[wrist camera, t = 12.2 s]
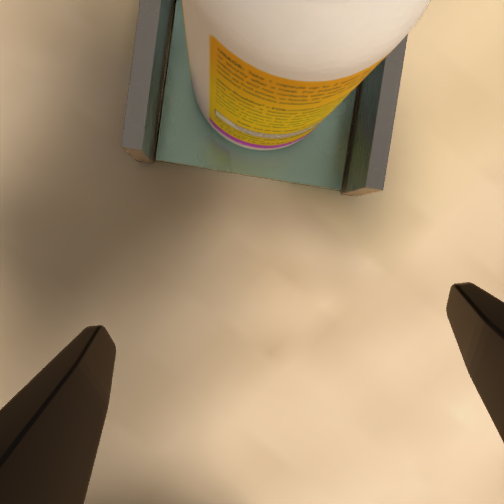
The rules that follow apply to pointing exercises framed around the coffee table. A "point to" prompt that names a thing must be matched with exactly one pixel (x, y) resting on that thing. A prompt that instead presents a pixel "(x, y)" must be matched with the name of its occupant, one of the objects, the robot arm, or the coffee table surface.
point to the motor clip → (243, 159)
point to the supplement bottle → (285, 60)
